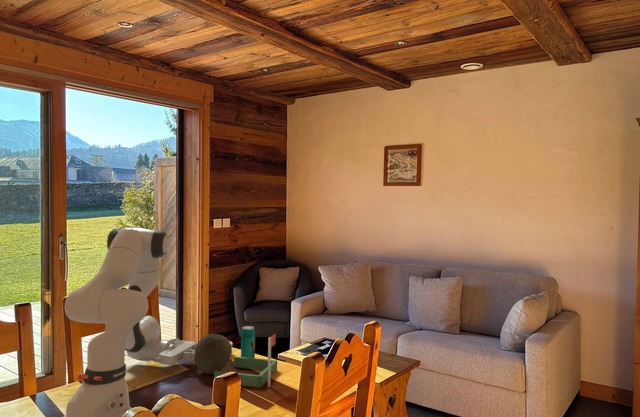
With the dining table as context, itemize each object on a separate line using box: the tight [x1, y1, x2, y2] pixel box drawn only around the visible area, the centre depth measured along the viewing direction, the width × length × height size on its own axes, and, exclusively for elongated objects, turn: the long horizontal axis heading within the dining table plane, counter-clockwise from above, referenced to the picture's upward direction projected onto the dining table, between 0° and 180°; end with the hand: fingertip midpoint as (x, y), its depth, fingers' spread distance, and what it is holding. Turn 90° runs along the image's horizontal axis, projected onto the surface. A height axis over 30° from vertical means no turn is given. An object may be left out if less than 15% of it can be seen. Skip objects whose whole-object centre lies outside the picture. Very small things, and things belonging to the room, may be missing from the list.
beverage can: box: [240, 325, 256, 358], centre depth 211 cm, size 6×6×15 cm
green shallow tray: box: [213, 334, 278, 388], centre depth 194 cm, size 19×22×18 cm
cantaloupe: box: [194, 333, 233, 375], centre depth 198 cm, size 14×14×15 cm
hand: (196, 354), depth 200 cm, fingers closed, pressing on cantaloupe
